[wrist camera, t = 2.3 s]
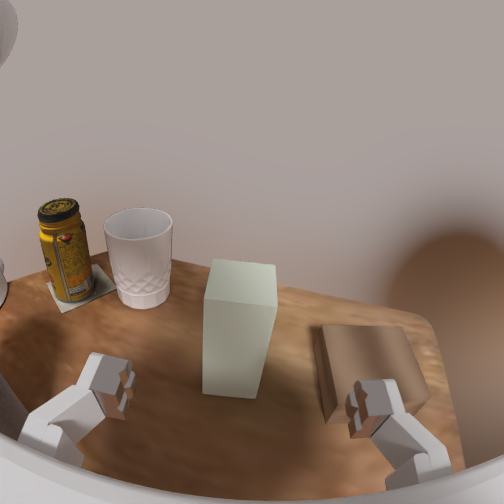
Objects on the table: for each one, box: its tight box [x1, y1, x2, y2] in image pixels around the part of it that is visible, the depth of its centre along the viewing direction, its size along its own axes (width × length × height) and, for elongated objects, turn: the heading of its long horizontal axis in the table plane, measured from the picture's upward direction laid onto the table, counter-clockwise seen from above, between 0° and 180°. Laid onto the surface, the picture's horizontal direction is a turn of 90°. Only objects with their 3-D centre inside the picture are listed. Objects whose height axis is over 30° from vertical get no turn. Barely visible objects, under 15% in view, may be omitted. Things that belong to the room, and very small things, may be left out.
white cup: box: [104, 207, 173, 309], centre depth 36 cm, size 8×8×10 cm
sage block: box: [203, 258, 278, 399], centre depth 26 cm, size 5×5×12 cm
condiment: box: [38, 198, 117, 313], centre depth 34 cm, size 7×8×12 cm
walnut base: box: [313, 324, 431, 424], centre depth 29 cm, size 10×10×4 cm
